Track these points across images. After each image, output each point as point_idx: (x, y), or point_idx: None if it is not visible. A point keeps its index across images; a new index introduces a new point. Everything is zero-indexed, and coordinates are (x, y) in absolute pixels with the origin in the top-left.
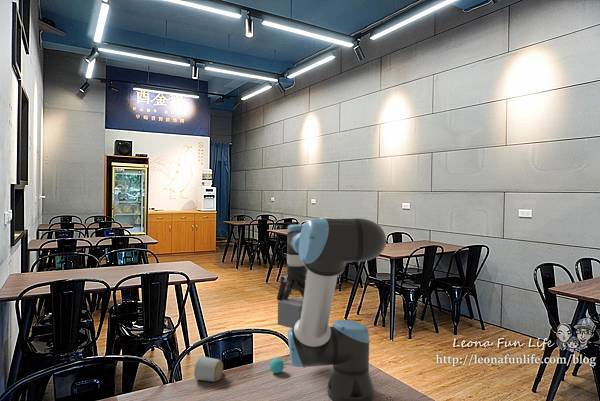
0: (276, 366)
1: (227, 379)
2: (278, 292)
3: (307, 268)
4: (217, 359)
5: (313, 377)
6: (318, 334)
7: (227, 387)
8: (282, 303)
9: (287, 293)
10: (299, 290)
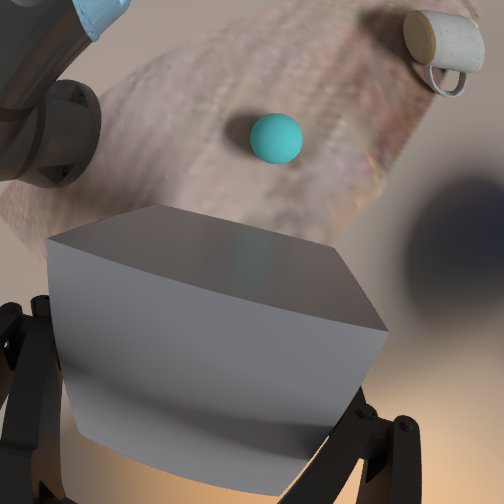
0: (266, 115)
1: (391, 57)
2: (420, 477)
3: None
4: (440, 33)
5: (155, 164)
6: None
7: (361, 20)
8: (308, 310)
9: (290, 491)
10: (19, 458)
